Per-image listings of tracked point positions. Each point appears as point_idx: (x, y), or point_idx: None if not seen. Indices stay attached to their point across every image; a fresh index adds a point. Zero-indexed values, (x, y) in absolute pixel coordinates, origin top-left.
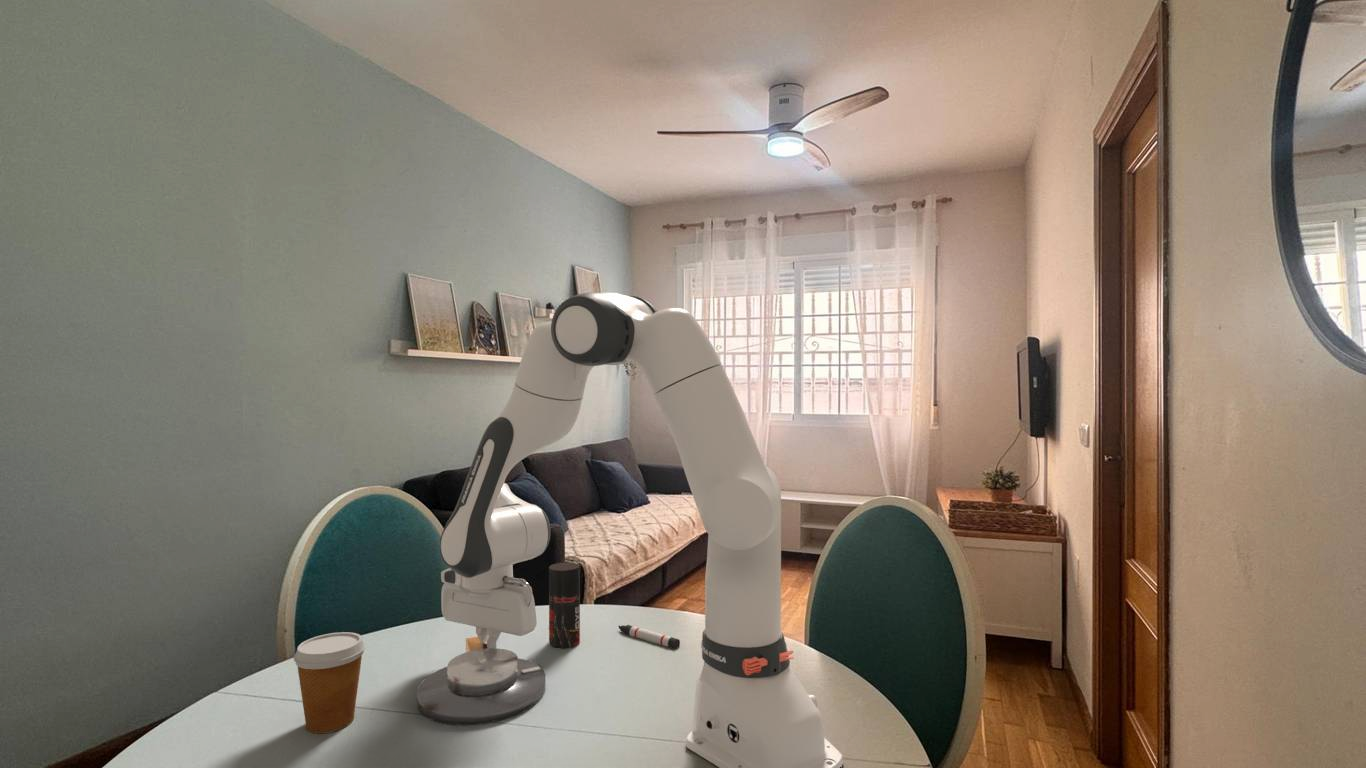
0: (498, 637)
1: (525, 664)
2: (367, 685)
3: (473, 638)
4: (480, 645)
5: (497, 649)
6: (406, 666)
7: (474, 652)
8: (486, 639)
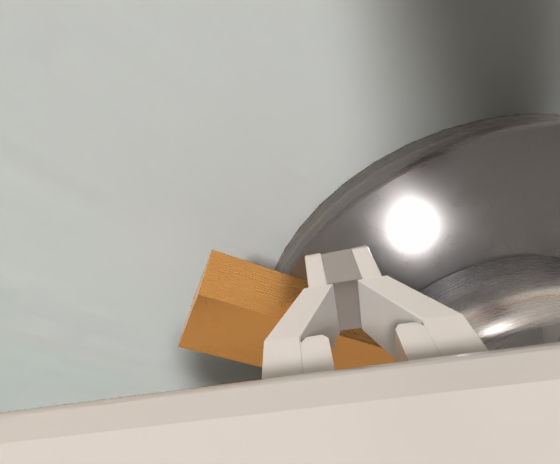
0: (412, 289)
1: (553, 169)
2: None
3: (207, 322)
4: (339, 342)
5: (513, 347)
6: (83, 367)
7: None
8: (332, 320)
